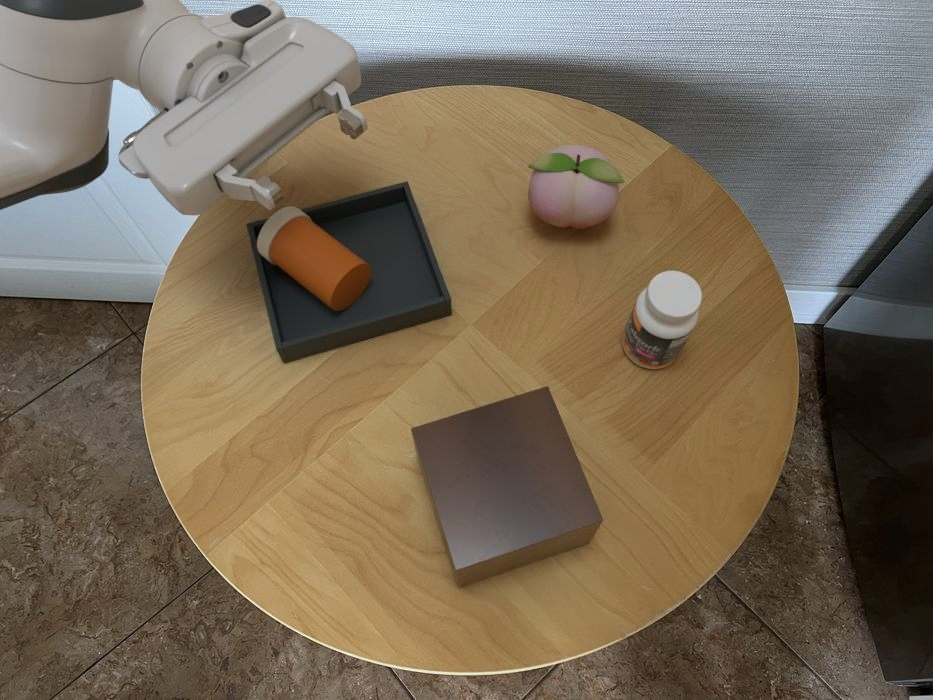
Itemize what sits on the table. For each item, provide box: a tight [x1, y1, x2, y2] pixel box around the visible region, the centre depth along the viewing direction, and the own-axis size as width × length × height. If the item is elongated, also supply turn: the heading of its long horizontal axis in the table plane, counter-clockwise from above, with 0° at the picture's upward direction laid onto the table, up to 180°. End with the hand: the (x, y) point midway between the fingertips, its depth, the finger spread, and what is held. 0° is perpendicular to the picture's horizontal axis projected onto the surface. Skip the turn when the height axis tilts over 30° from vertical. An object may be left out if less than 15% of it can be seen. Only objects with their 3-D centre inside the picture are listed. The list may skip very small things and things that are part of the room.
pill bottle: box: [621, 270, 703, 370], centre depth 69 cm, size 6×6×10 cm
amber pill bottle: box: [257, 205, 371, 311], centre depth 75 cm, size 6×6×10 cm
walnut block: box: [410, 385, 604, 589], centre depth 63 cm, size 12×12×8 cm
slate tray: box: [245, 180, 453, 364], centre depth 76 cm, size 17×15×3 cm
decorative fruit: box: [527, 144, 625, 229], centre depth 76 cm, size 9×8×10 cm
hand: (319, 163), depth 60 cm, fingers open, 8 cm apart
